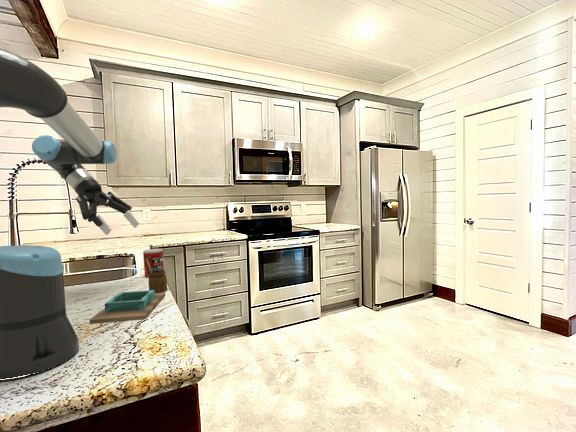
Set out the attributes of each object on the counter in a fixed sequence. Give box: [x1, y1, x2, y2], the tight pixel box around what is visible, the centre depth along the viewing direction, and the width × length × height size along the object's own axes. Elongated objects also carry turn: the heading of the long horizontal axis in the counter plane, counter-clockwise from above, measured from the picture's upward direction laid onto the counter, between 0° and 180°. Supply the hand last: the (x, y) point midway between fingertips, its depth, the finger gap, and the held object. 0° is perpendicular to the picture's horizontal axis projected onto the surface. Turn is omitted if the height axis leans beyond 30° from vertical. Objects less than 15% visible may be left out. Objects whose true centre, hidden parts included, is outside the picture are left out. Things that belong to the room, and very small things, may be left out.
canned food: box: [142, 248, 165, 278], centre depth 130 cm, size 8×8×11 cm
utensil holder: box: [146, 258, 168, 293], centre depth 108 cm, size 6×6×12 cm
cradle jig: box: [89, 289, 166, 324], centre depth 92 cm, size 20×14×4 cm
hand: (124, 228), depth 108 cm, fingers open, 13 cm apart
